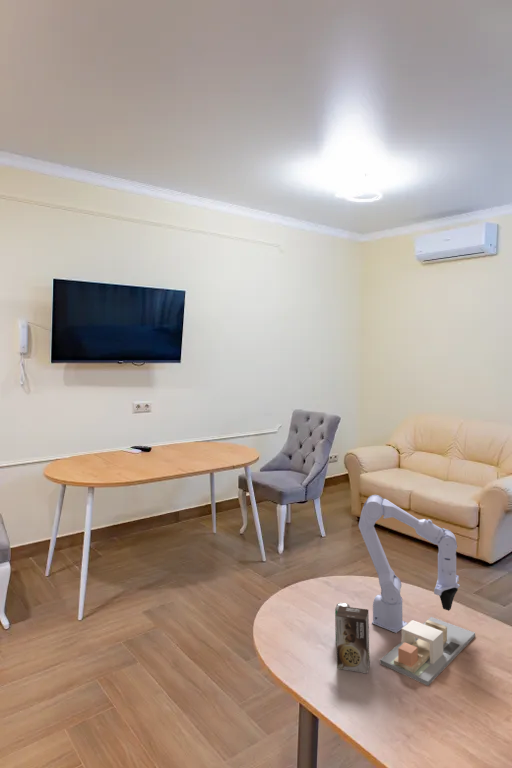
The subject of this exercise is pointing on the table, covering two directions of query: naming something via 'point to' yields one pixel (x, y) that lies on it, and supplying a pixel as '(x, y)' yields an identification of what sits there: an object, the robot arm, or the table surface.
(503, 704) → the table surface
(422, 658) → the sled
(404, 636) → the tunnel
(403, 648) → the block
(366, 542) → the robot arm
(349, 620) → the cookie box
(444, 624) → the plate
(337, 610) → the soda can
